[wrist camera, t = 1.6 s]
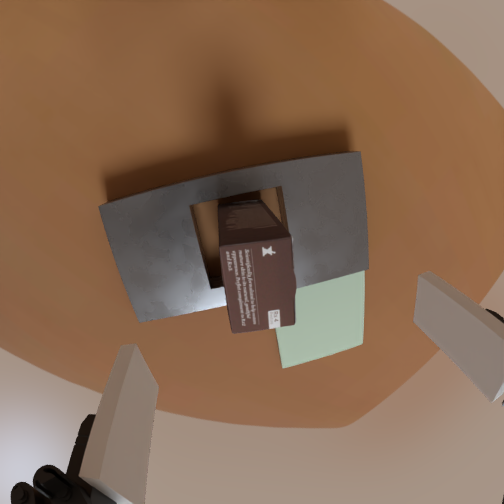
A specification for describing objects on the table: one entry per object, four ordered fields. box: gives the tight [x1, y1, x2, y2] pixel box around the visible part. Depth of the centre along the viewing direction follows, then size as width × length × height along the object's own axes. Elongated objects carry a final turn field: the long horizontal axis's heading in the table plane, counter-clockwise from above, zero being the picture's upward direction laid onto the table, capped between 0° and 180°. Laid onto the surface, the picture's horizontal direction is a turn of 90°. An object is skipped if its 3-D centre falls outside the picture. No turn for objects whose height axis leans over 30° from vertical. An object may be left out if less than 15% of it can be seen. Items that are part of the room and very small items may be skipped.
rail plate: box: [98, 151, 369, 323], centre depth 26 cm, size 24×12×2 cm, turn 101°
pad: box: [275, 271, 365, 368], centre depth 32 cm, size 11×11×1 cm
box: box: [218, 200, 297, 334], centre depth 22 cm, size 6×4×12 cm
